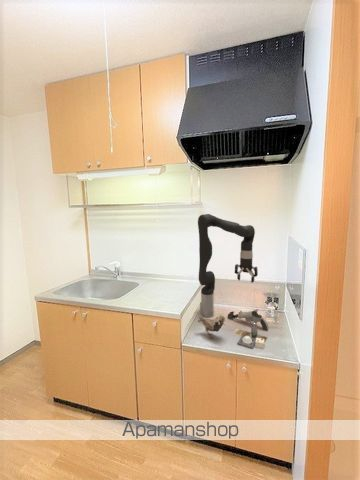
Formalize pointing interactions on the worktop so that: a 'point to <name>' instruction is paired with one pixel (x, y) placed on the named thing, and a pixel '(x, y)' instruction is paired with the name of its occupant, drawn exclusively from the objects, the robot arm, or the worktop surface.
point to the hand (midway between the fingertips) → (245, 281)
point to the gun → (250, 318)
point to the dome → (247, 340)
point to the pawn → (254, 330)
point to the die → (259, 343)
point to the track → (248, 334)
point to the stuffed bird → (212, 323)
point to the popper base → (246, 344)
